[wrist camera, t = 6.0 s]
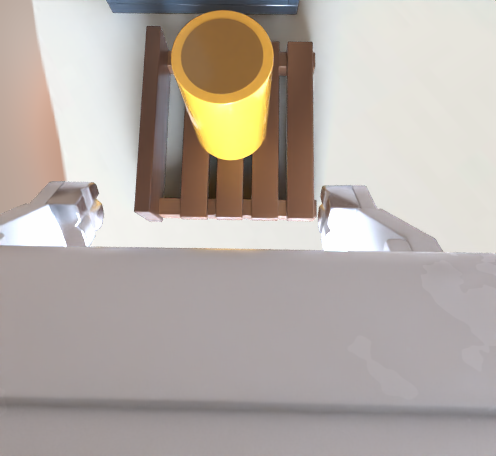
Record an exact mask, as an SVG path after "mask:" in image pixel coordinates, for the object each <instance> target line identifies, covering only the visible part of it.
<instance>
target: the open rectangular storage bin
mask: <svg viewBox="0 0 496 456" xmlns="http://www.w3.org/2000/svg"><path fill="white" fill-rule="evenodd" d="M106 1H107V3H108V4H109V6H110V8H111V10H112V12H113V13H198V14H204V13H207V12H211V11H217V10H229V11H235V12H239V13H242V14H297V10H298V4H299V0H106Z"/></svg>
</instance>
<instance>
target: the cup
mask: <svg viewBox="0 0 496 456" xmlns="http://www.w3.org/2000/svg"><path fill="white" fill-rule="evenodd" d="M273 60H274V53H273V47H272V43H271V41H270V38H269V36H268V34H267V33H266V31H265V30H264V29H263V27H262V26H261V25H260V24H259V23H257V22H256V21H255V20H254V19H252V18H250V17H249V16H247V15H244V14H242V13H239V12H235V11H229V10H217V11H211V12H207V13H204V14H202V15H199V16H197V17H196V18H194V19H192V20H191V21H190V22H188V23H187V24H186V25H185V26H184V27H183V28H182V29H181V31H180V32H179V34H178V35H177V37H176V39H175V41H174V44H173V47H172V52H171V65H172V70H173V73H174V76H175V79H176V81H177V84H178V87H179V90H180V92H181V95H182V98H183V100H184V103H185V106H186V109H187V111H188V114H189V117H190V119H191V122H192V125H193V128H194V130H195V133H196V136H197V138H198V140H199V142H200V144H201V146H202V147H203V148H204V149H205V150H206V151H207V152H208V153H210V154H211V155H213V156H215V157H217V158H220V159H224V160H237V159H242V158H245V157H247V156H249V155H251V154H252V153H254V152H255V151H256V150H257V149H258V148H259V147H260V145H261V144H262V143H263V141H264V139H265V136H266V132H267V124H268V114H269V103H270V92H271V82H272V71H273Z"/></svg>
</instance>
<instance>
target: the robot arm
mask: <svg viewBox="0 0 496 456" xmlns="http://www.w3.org/2000/svg"><path fill="white" fill-rule="evenodd" d="M98 194H99V192H98V189H97V185H96V184H95V183H94V182H65V181H52V182H49V183H48V184H47V185H46V186H45V187H44V188H43V190H42V191H41V192H40V193H39V194H38V195H37V196H36V197H35V198H34V199H33V200H32V201H31V202H30V204H23V205H21V206H18V207H16V208H13V209H11V210H9V211H6V212H4V213H1V214H0V456H496V253H467V252H443V250H442V249H441V247H440V246H439V244H438V242H437V241H436V239H435V238H433V237H431V236H429V235H428V234H426V233H424V232H422V231H420V230H419V229H417V228H415V227H413V226H411V225H410V224H408V223H406V222H404V221H402V220H401V219H399V218H397V217H395V216H393V215H392V214H390V213H388V212H386V211H385V210H383V209H377V207H376V205H375V203H374V201H373V199H372V197H371V195H370V193H369V191H368V189H367V186H365V185H353V186H352V185H334V186H322V190H321V196H320V197H321V201H322V205H321V206H320V207H319V212H318V228H319V232H320V233H321V234H322V237H321V241H322V246H323V250H273V249H209V248H148V247H89V246H90V245H91V243H92V241H93V240H94V238H95V233H94V232H95V231H97V230H98V229H100V227H101V225H102V224H103V218H104V213H103V207H102V204H101V203H100V202H99V201H98V200H97V199H96V198H97V196H98Z"/></svg>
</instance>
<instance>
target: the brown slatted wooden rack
mask: <svg viewBox="0 0 496 456" xmlns="http://www.w3.org/2000/svg"><path fill="white" fill-rule="evenodd" d="M271 43H272V47H273V53H274V60H273V71H272V82H271V92H270V103H269V114H268V124H267V132H266V136H265V139H264V141H263V143H262V144H261V145H260V147H259V148H258V149H257V150H256V151H255V152H254V153H252V199H243V173H244V158H242V159H237V160H224V159H220V158H217V185H216V199H208V196H209V168H210V153H208V152H207V151H206V150H205V149H204V148H203V147H202V146H201V144H200V142H199V140H198V138H197V136H196V133H195V130H194V128H193V125H192V122H191V119H190V117H189V114H188V111H187V109H186V106H185V116H184V137H183V157H182V178H181V198H164V185H165V167H166V149H167V130H168V112H169V94H170V76H171V74H174V73H173V70H172V65H171V52H172V51H169V48H168V46H167V43H166V40H165V37H164V34H163V31H162V28H161V26H147V28H146V43H145V58H144V73H143V88H142V103H141V118H140V133H139V148H138V163H137V178H136V193H135V207H134V212H135V213H137V214H139V215H140V216H142V217H143V218H145V219H146V220H148V221H156V222H162V221H163V218H181V219H208V218H216V219H217V220H242V219H251V220H268V221H277V220H278V219H279V220H287V221H313V220H314V219H315V218H316V217H317V211H316V200H314V153H313V73H314V69H315V53H313V43H312V42H288V43H287V52H279V41H271ZM279 76H287V134H286V200H278V163H279Z"/></svg>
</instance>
